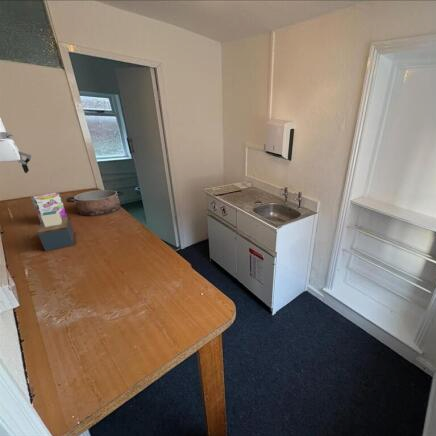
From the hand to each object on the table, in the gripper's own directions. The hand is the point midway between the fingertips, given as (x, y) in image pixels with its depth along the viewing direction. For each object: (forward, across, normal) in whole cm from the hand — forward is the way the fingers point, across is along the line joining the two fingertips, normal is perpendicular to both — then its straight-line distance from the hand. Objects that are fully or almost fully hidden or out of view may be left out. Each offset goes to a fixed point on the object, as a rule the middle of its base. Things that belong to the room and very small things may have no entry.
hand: (12, 173), depth 113 cm
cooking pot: (+32, -28, -22) cm, 48 cm away
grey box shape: (+32, -10, +19) cm, 39 cm away
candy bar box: (+32, -6, -14) cm, 36 cm away
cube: (+22, -10, +19) cm, 31 cm away
